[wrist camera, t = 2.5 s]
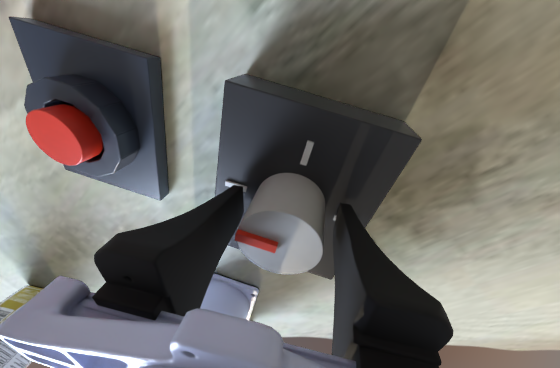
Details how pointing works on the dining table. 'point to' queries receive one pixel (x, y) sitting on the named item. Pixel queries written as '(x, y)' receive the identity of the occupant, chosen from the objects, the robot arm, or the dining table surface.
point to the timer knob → (284, 225)
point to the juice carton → (3, 358)
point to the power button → (64, 133)
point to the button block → (102, 101)
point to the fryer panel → (309, 149)
